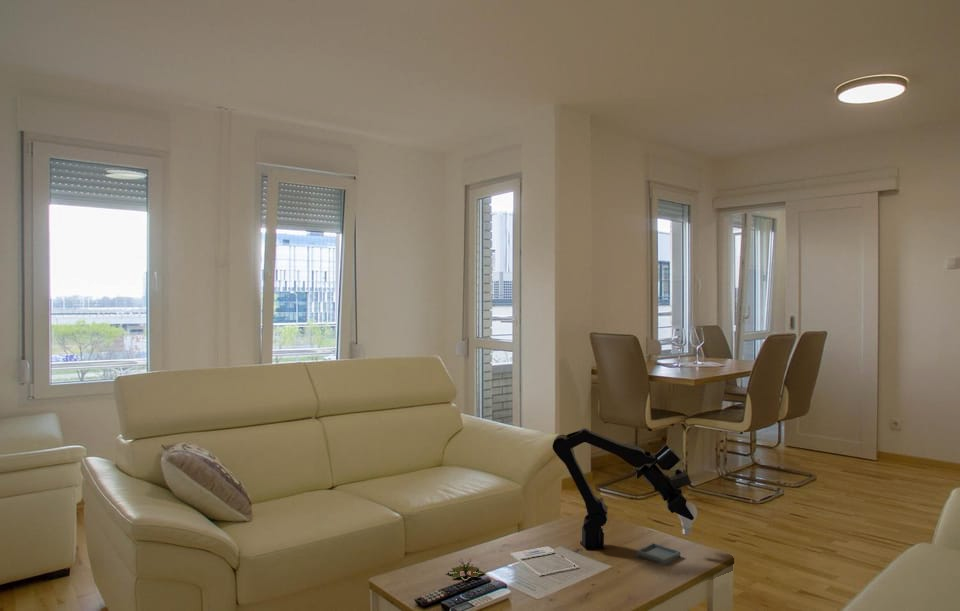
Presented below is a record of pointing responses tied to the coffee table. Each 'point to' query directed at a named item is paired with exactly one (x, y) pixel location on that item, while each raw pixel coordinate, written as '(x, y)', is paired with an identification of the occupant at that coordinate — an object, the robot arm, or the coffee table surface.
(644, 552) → the dish
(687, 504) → the lightbulb
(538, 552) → the photo frame
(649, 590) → the coffee table surface
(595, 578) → the coffee table surface
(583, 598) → the coffee table surface
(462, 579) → the flower arrangement
